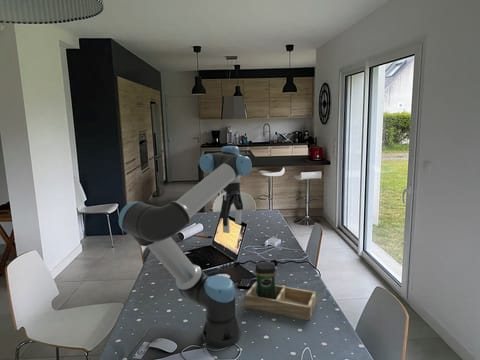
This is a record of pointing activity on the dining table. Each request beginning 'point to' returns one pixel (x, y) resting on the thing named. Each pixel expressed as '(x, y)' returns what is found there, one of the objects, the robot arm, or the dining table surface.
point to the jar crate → (284, 302)
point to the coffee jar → (265, 280)
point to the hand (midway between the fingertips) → (232, 227)
